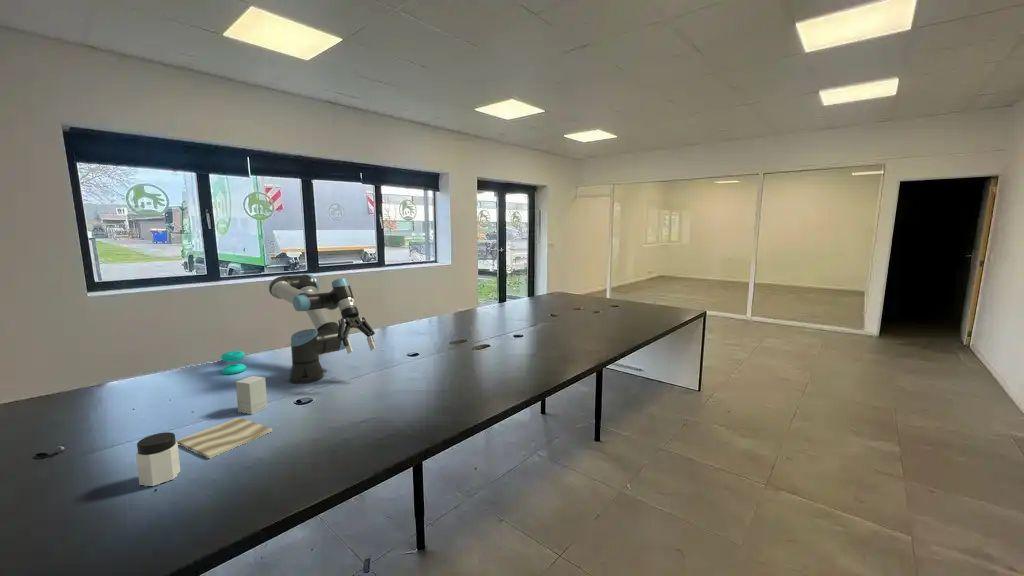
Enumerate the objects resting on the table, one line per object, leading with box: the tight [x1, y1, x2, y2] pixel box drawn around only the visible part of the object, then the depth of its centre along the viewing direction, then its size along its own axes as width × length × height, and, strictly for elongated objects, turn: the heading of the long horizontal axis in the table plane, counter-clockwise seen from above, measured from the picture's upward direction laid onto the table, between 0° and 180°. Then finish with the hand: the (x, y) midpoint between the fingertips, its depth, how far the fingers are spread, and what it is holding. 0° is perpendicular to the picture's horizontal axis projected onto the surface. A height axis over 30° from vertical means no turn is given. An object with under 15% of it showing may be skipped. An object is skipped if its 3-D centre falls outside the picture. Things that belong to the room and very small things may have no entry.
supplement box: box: [235, 375, 269, 415], centre depth 161 cm, size 7×7×13 cm
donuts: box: [220, 350, 247, 375], centre depth 206 cm, size 10×10×10 cm
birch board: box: [176, 417, 273, 459], centre depth 139 cm, size 20×20×1 cm
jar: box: [135, 431, 181, 486], centre depth 115 cm, size 9×8×12 cm
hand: (362, 351), depth 187 cm, fingers open, 13 cm apart
